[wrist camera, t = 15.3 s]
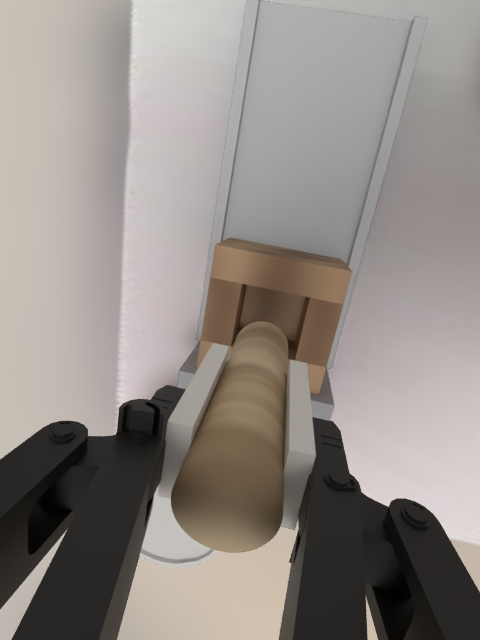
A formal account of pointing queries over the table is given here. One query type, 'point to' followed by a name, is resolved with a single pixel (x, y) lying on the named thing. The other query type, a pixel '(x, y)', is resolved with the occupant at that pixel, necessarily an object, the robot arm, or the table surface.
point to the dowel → (239, 449)
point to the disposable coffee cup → (171, 539)
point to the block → (276, 300)
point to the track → (310, 138)
